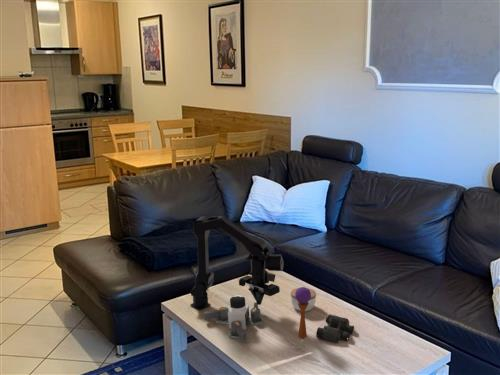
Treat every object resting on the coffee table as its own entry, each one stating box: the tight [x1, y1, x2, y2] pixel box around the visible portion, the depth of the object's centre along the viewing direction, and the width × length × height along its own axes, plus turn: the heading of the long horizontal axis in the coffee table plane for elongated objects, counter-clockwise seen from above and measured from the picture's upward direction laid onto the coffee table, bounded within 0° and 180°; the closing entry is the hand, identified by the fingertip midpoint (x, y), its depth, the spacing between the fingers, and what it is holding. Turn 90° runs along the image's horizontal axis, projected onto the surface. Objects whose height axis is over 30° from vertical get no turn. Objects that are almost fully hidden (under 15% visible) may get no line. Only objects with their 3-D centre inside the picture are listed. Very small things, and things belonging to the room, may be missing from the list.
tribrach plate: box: [214, 316, 264, 340], centre depth 199 cm, size 19×20×1 cm
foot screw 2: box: [249, 301, 261, 322], centre depth 203 cm, size 10×4×4 cm, turn 177°
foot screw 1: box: [203, 306, 230, 321], centre depth 200 cm, size 10×4×4 cm, turn 105°
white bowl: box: [290, 287, 317, 313], centre depth 210 cm, size 11×11×9 cm
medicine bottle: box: [228, 294, 250, 330], centre depth 196 cm, size 7×7×12 cm
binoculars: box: [315, 314, 355, 344], centre depth 190 cm, size 11×16×6 cm
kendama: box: [295, 286, 311, 339], centre depth 186 cm, size 6×6×20 cm
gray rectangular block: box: [230, 321, 248, 341], centre depth 187 cm, size 10×4×4 cm, turn 25°
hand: (259, 304), depth 206 cm, fingers closed
